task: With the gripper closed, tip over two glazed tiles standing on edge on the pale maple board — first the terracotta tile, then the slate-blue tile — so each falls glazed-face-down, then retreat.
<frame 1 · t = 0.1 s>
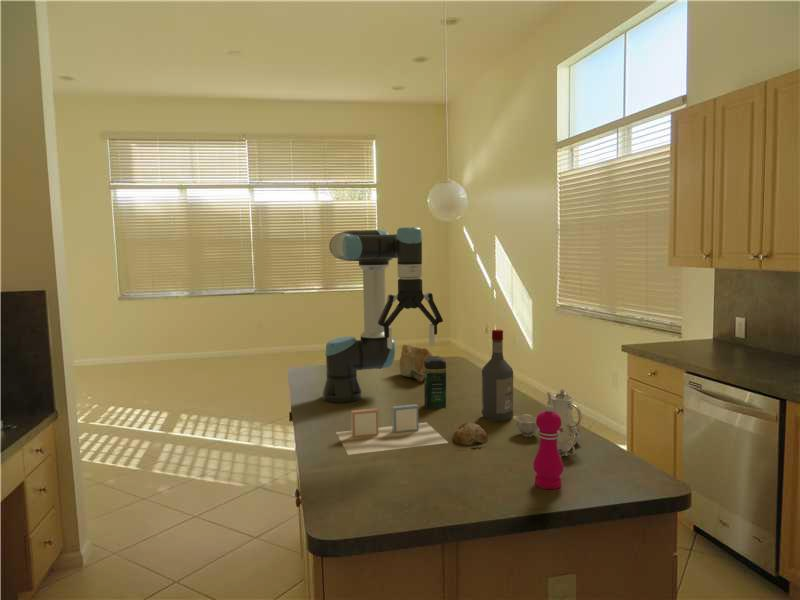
hand: (411, 346, 177), 28 cm above the counter, fingers open, 13 cm apart
pepper mill: (548, 484, 142), on the counter
coffee jar: (435, 407, 208), on the counter
liquor: (497, 417, 196), on the counter
rough brown rock: (423, 378, 253), on the counter
tile blue: (405, 431, 179), point 1 cm above the counter, touching board
bread roll: (469, 444, 171), on the counter
board: (390, 441, 174), on the counter
tile terracotta: (365, 435, 176), point 1 cm above the counter, touching board
chinaware: (552, 443, 170), on the counter
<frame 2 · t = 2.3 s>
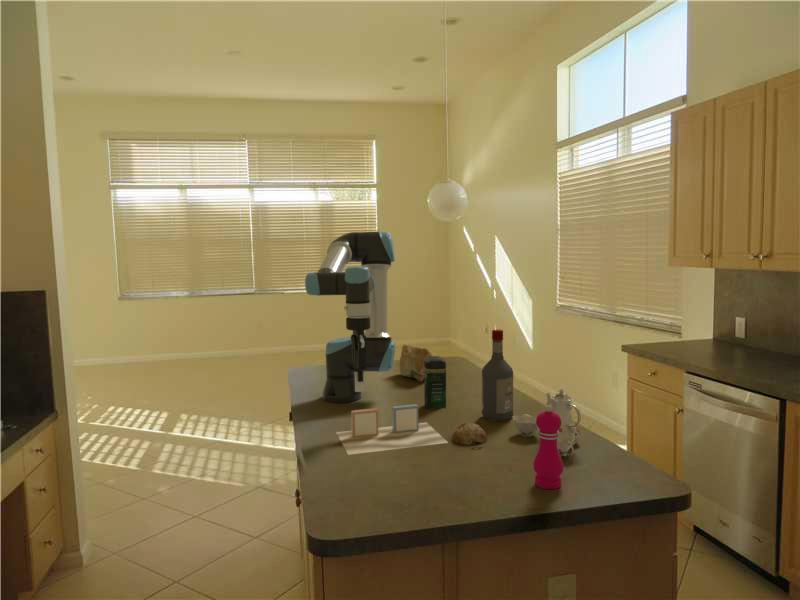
hand: (359, 391, 180), 14 cm above the counter, fingers closed
nothing on the counter moved.
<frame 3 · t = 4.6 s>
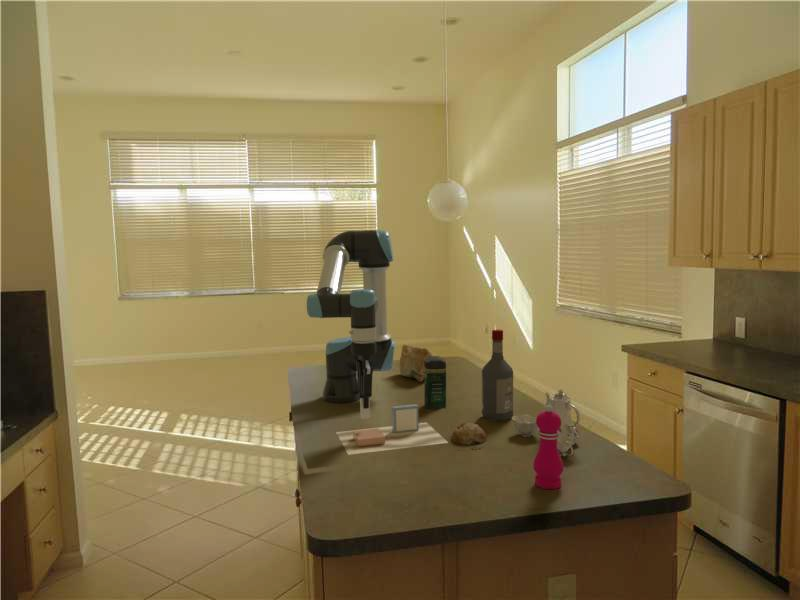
hand: (365, 417, 174), 7 cm above the counter, fingers closed
tile terracotta: (365, 432, 174), point 2 cm above the counter, tilted 90°, touching board
everything else where it was.
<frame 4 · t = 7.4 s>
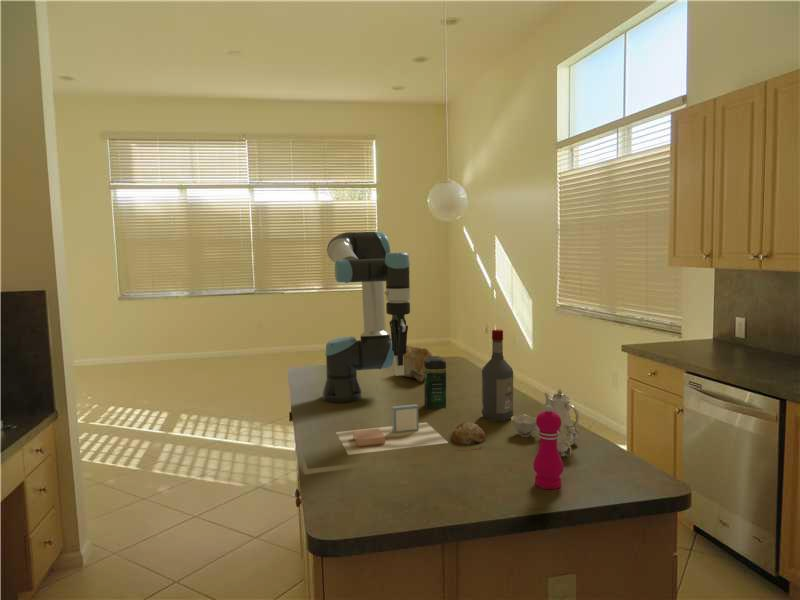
hand: (399, 374, 183), 18 cm above the counter, fingers closed
nothing on the counter moved.
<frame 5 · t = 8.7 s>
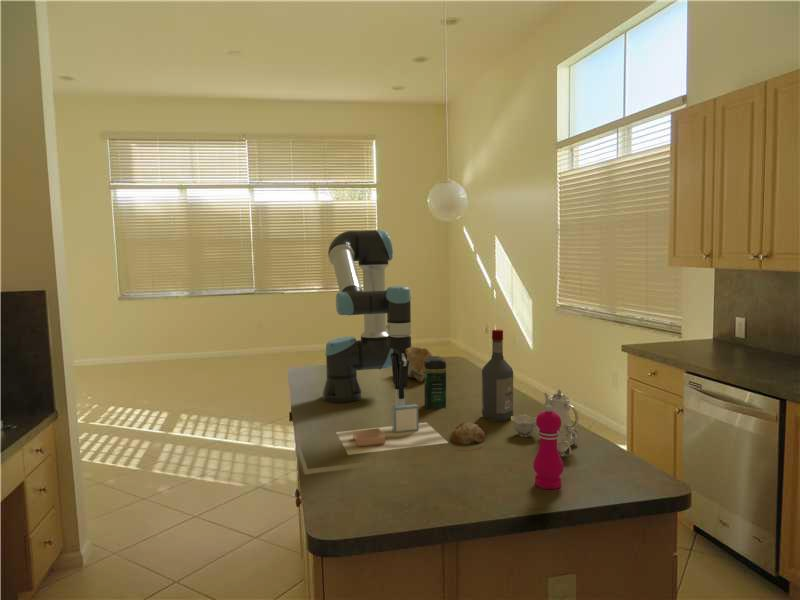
hand: (400, 407, 184), 7 cm above the counter, fingers closed
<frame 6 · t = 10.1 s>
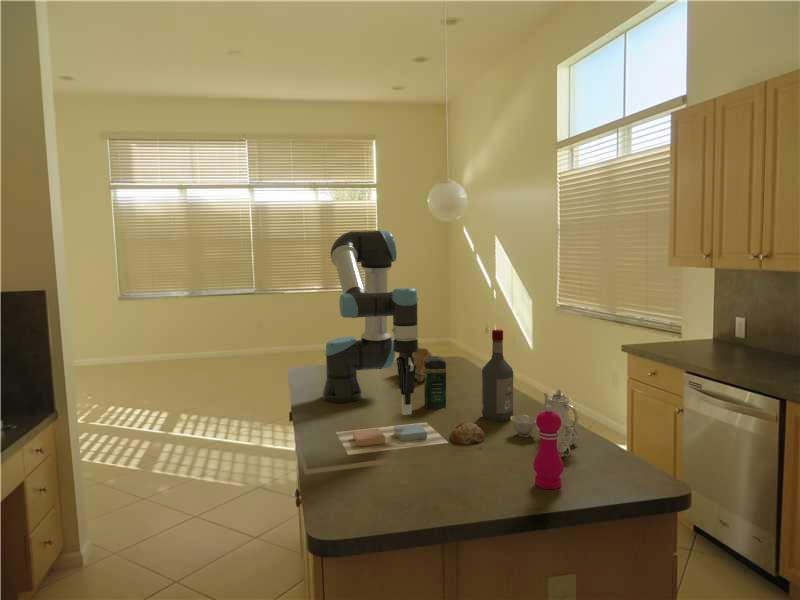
hand: (406, 413, 177), 7 cm above the counter, fingers closed
tile blue: (406, 428, 178), point 2 cm above the counter, tilted 90°, touching board
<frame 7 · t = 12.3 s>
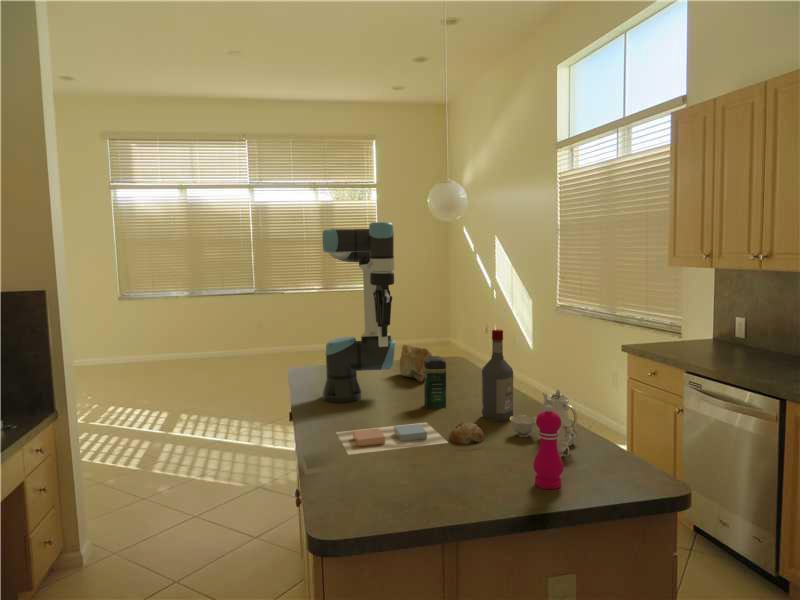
hand: (383, 346, 181), 27 cm above the counter, fingers closed
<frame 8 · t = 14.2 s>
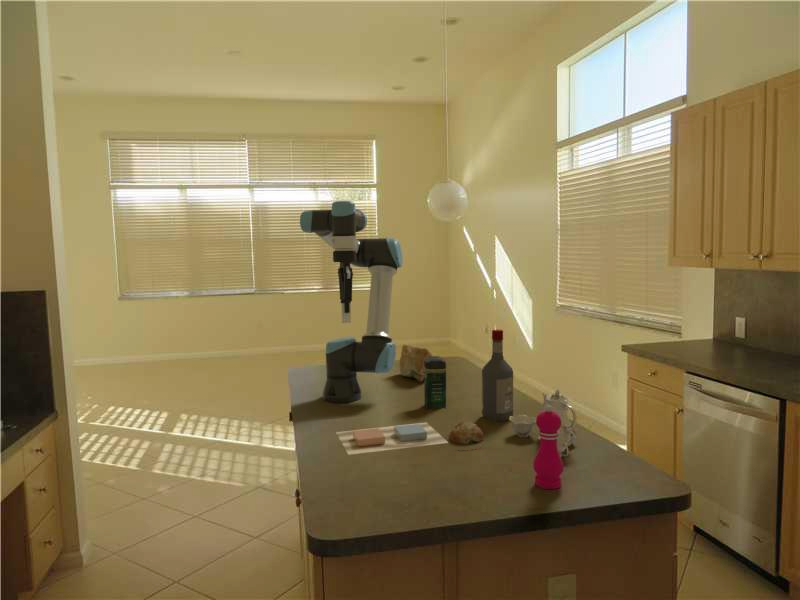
hand: (346, 322, 186), 34 cm above the counter, fingers closed
at the end: tile terracotta tilted 90°; tile blue tilted 90°; tile terracotta inside the target area (3.4 cm from its centre), point 2.4 cm above the counter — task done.
